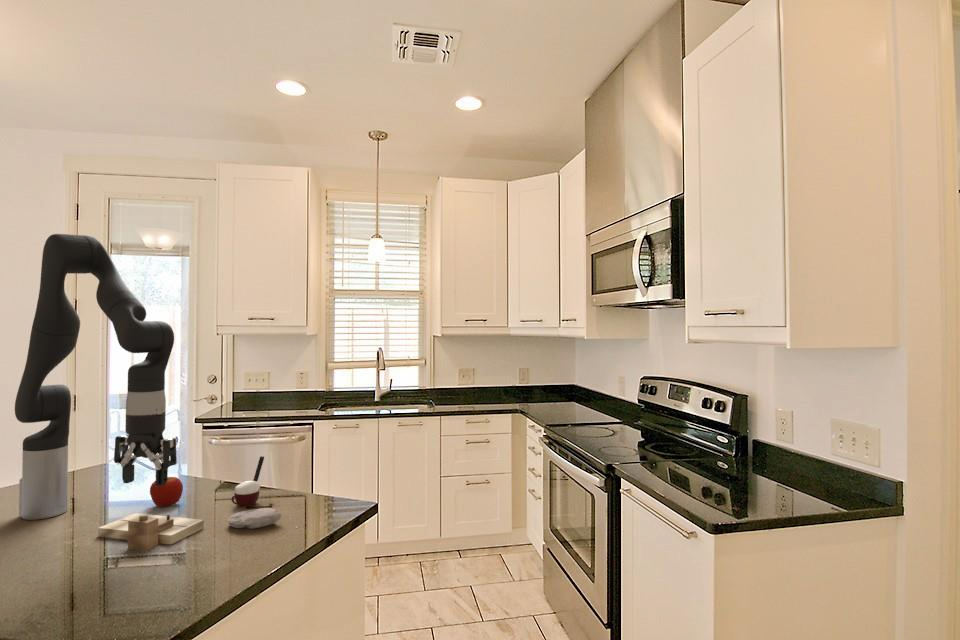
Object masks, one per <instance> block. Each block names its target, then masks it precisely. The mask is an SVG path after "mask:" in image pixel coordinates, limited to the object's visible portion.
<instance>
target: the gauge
mask: <svg viewBox="0 0 960 640" xmlns="http://www.w3.org/2000/svg"><path fill="white" fill-rule="evenodd" d="M148 515H149V514H147V515H141V516H139V517H137V518H134V519H132V520H129V521H128V540H127V549H130V550H139V551H149V550H151V549H153V548H155V547H157V546H159V543H158V532H159V531H162V530H164V529H166V528H168V527H170V526H173V525H174V519H170V517H171V514H167V515H166V516H167V518H166V519H164V520H161V521H159V522H158V518H153V517H148Z"/></svg>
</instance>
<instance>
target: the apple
mask: <svg viewBox="0 0 960 640" xmlns="http://www.w3.org/2000/svg"><path fill="white" fill-rule="evenodd" d="M167 478H168V480H167V482H166V484H165V485H163V486H160V487H158V486H156V480H155V481H153V482H152V483H151V485H150V488H149V496H151V497H150V498H151V500H152V502H153V504H154V505H156V506H158V507H160V508H164V507H165V508H166V507H167V508H168V507H171V506H174V505H175V504H178V502H179V501H180V500H181V498H182V494H183V490H184V486H183V482H182V481H181V479H180V478H178V477H177V476H168V477H167Z"/></svg>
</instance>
